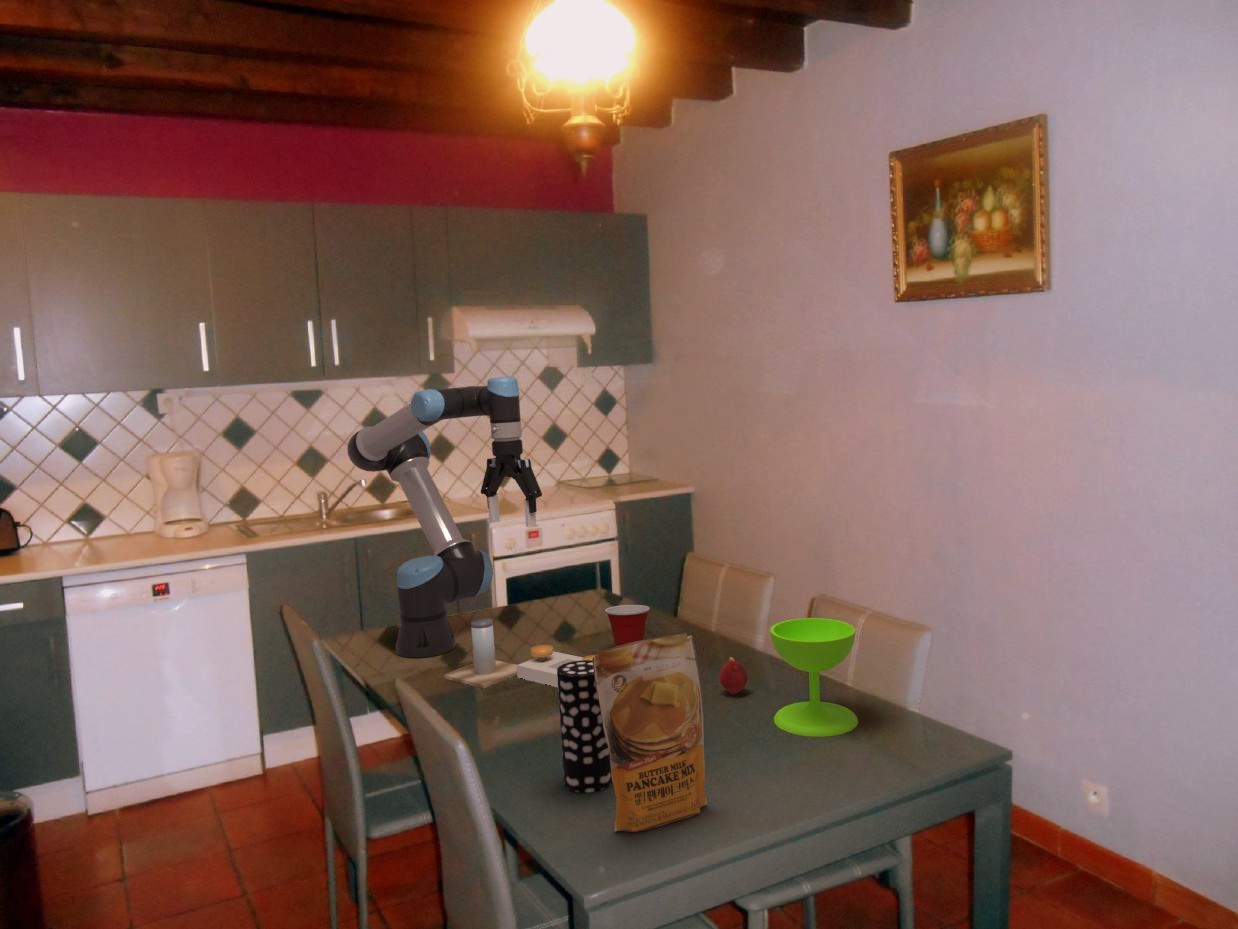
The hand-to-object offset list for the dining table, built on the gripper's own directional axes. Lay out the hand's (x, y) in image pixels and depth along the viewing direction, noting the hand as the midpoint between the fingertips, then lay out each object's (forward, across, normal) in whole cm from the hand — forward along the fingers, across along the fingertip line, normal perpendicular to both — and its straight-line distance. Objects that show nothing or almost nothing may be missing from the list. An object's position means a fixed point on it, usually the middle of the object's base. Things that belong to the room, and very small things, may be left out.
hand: (512, 524), depth 233 cm
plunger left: (+31, +18, -9) cm, 37 cm away
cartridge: (+31, +7, -18) cm, 37 cm away
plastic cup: (+33, +27, +11) cm, 44 cm away
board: (+32, +7, -18) cm, 38 cm away
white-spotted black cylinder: (+33, +66, -45) cm, 87 cm away
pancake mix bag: (+33, +84, -47) cm, 102 cm away
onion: (+33, +63, +3) cm, 71 cm away
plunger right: (+31, +34, -8) cm, 46 cm away
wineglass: (+33, +84, 0) cm, 90 cm away
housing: (+32, +26, -9) cm, 42 cm away
